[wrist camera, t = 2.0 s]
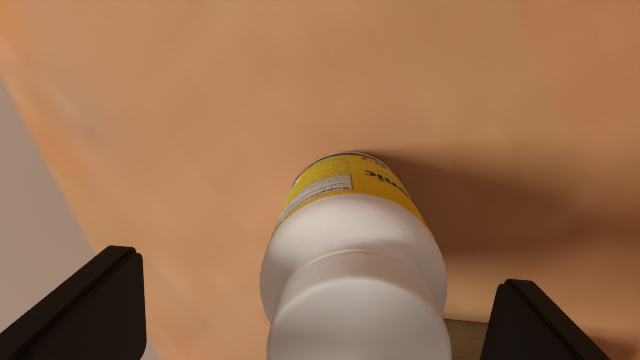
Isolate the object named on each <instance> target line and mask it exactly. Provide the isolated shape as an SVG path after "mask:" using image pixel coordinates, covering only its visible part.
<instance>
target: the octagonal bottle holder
mask: <svg viewBox="0 0 640 360" xmlns="http://www.w3.org/2000/svg"><path fill="white" fill-rule="evenodd" d="M443 321H444V323H445V325H446V327H447V331H448V334H449V337H450V342H451V351H452V360H480V356H481V352H482V348H483V344H484V340H485V336H486V332H487V328H488V324H484V323H475V322H466V321H456V320H447V319H443Z"/></svg>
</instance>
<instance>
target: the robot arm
mask: <svg viewBox="0 0 640 360" xmlns="http://www.w3.org/2000/svg"><path fill="white" fill-rule="evenodd" d="M146 342H147V337H146V317H145V297H144V277H143V259H142V255H141V254H140V253H136V250H135V248H133V247H124V246H113V245H110V246H108V247H106V248H105V249H104V250H103V251H101V252H100V253H99V254H98V255H96V256H95V257H94V258H93V259H92V260H90V261H89V262H88V263H87V264H86V265H84V266H83V267H82V268H81V269H79V270H78V271H77V272H75V273H74V274H73V275H72V276H71V277H69V278H68V279H67V280H66V281H64V282H63V283H62V284H61V285H59V286H58V287H57V288H56V289H55V290H53V291H52V292H51V293H49V294H48V295H47V296H46V297H45V298H43V299H42V300H41V301H40V302H38V303H37V304H36V305H35V306H33V307H32V308H31V309H30V310H28V311H27V312H26V313H25V314H24V315H22V316H21V317H20V318H19V319H17V320H16V321H15V322H14V323H12V324H11V325H10V326H9V327H8V328H6V329H5V330H4V331H3V332H1V333H0V360H140V359H141V357H142V356H143V354H144V351H145V348H146ZM480 360H611V359H610V358H609V357H608V356H607V355H606V354H605V353H604V352H603V351H602V350H601V349H600V348H599V347H598V346H597V345H596V344H595V343H594V342H593V341H592V340H591V339H590V338H589V337H588V336H587V335H586V334H585V333H584V332H583V331H582V330H581V329H580V328H579V327H578V326H577V325H576V324H575V323H574V322H573V321H572V320H571V319H570V318H569V317H568V316H567V315H566V314H565V313H564V312H563V311H562V310H561V309H560V308H559V307H558V306H557V305H556V304H555V303H554V302H553V301H552V300H551V299H550V298H549V297H548V296H547V295H546V294H545V293H544V292H543V291H542V290H541V289H540V288H539V287H538V286H537V285H536V284H535V283H534V282H533V281H529V280H517V279H507V280H506V281H505V282H504V284H500V285H499V286H498V288H497V292H496V296H495V300H494V304H493V308H492V312H491V316H490V320H489V324H488V328H487V332H486V336H485V340H484V344H483V348H482V352H481V356H480Z"/></svg>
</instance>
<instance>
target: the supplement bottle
mask: <svg viewBox="0 0 640 360" xmlns="http://www.w3.org/2000/svg"><path fill="white" fill-rule="evenodd" d="M260 293H261V299H262V303H263V307H264V310H265V313H266V315H267V318H268V320H269V322H270V324H271V327H270V331H269V335H268V341H267V360H452V351H451V342H450V337H449V334H448V331H447V327H446V325H445V323H444V321H443V318H442V316H441V315H442V312H443V309H444V305H445V301H446V296H447V274H446V268H445V264H444V260H443V257H442V255H441V252H440V250H439V247H438V245H437V244H436V241H435V239H434V237H433V235H432V233H431V232H430V230H429V228H428V227H427V225H426V223H425V221H424V220H423V218H422V216H421V214H420V213H419V211H418V209H417V208H416V206H415V204H414V203H413V201H412V200H411V198H410V196H409V195H408V193H407V191H406V189H405V188H404V186H403V185H402V183H401V182H400V180H399V178H398V177H397V176H396V175H395V173H394V172H393V171H392V170H391V169H390V168H389V167H388V166H387V165H385V164H384V163H383V162H381V161H380V160H378V159H376V158H374V157H372V156H370V155H367V154H363V153H359V152H337V153H333V154H329V155H326V156H324V157H321V158H319V159H317V160H316V161H314V162H313V163H311V164H310V165H309V166H307V167H306V168H305V169H304V170H303V171H302V172H301V173H300V175H299V176H298V177H297V179H296V180H295V182H294V184H293V186H292V188H291V190H290V192H289V195H288V197H287V200H286V202H285V205H284V207H283V210H282V213H281V215H280V217H279V220H278V222H277V225H276V227H275V230H274V232H273V234H272V236H271V239H270V242H269V244H268V246H267V249H266V253H265V256H264V259H263V263H262V268H261V274H260Z"/></svg>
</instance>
